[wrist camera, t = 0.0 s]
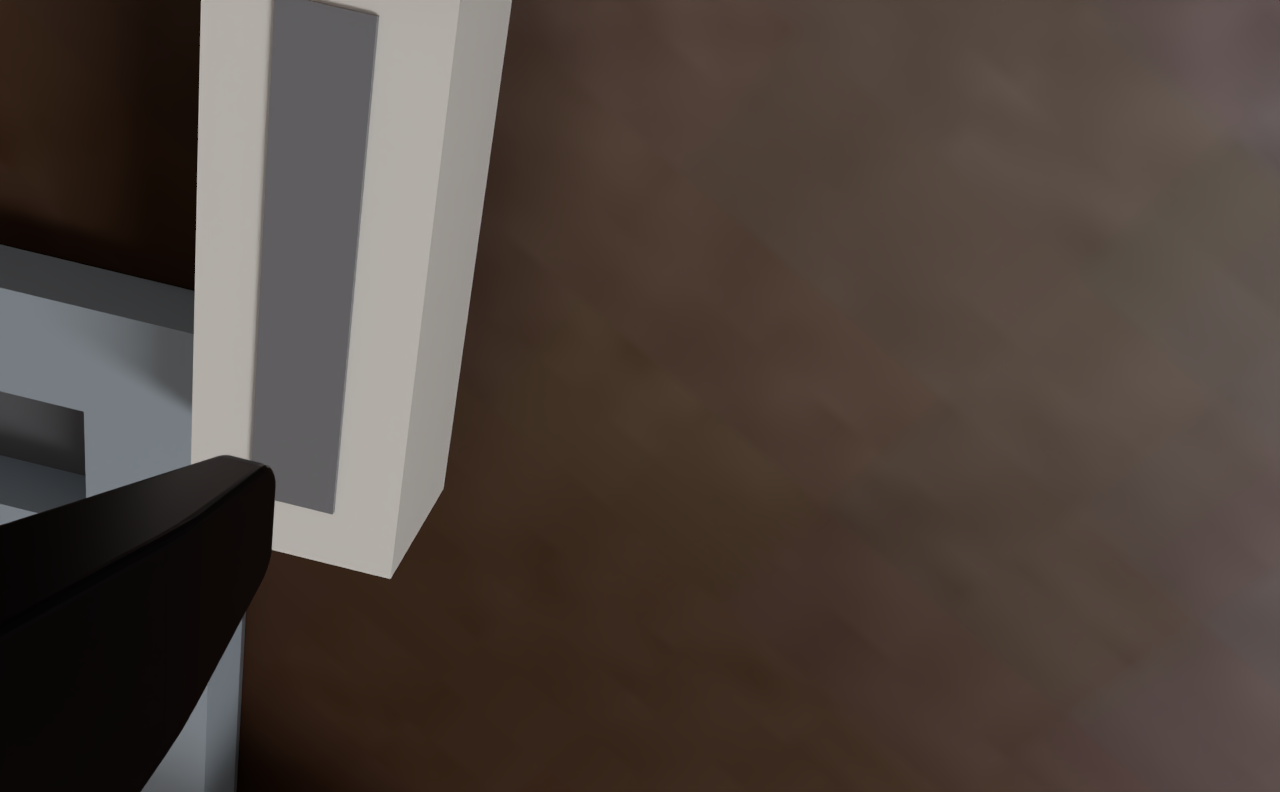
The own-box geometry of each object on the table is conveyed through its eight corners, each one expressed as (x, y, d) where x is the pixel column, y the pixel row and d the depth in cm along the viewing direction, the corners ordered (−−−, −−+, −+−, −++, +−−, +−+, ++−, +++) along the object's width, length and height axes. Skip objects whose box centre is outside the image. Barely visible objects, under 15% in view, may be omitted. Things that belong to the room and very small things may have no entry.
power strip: (463, 454, 26) (384, 588, 21) (297, 414, 26) (181, 537, 21) (553, -160, 20) (474, -173, 15) (340, -207, 20) (195, -235, 15)
